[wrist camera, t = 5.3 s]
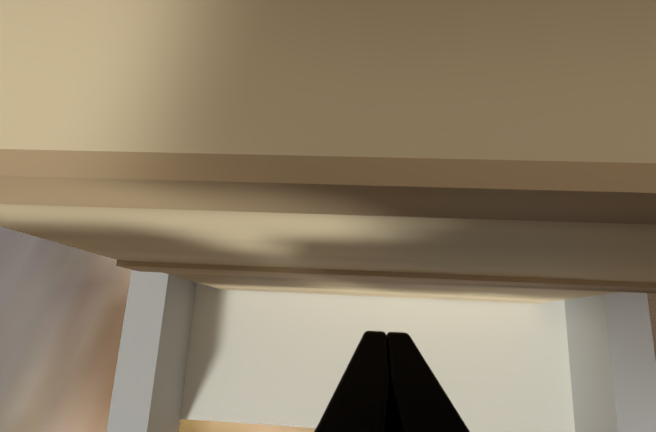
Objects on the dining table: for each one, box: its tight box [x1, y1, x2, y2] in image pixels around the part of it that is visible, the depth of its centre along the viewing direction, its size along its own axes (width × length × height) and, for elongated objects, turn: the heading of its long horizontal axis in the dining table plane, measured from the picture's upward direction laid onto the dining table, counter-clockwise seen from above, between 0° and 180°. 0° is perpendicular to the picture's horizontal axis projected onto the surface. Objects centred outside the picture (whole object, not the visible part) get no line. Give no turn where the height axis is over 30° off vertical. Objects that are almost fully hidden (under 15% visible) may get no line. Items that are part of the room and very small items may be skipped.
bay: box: [106, 270, 656, 432], centre depth 15 cm, size 19×16×6 cm
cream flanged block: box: [0, 0, 656, 304], centre depth 10 cm, size 6×11×13 cm, turn 88°
